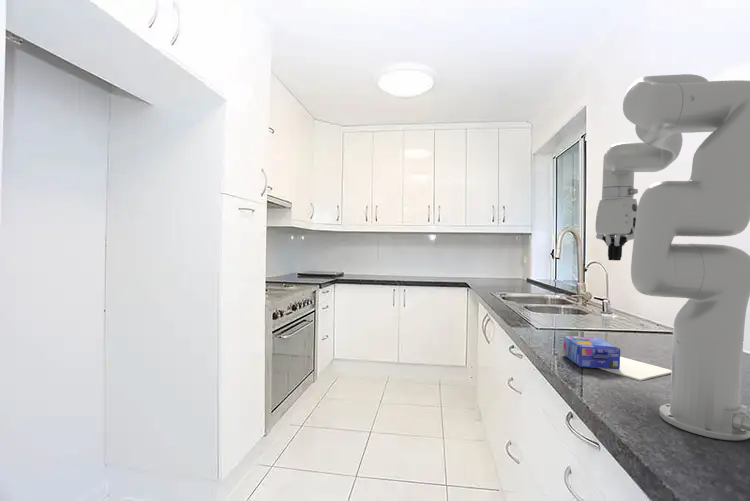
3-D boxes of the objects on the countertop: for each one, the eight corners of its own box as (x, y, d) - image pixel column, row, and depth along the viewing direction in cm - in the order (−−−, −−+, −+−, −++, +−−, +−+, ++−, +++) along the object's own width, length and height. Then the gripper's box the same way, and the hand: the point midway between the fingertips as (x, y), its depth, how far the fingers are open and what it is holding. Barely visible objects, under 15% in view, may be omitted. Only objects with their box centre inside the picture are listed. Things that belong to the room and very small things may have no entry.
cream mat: (674, 372, 101) (674, 371, 101) (639, 381, 94) (640, 379, 94) (611, 355, 115) (611, 354, 115) (577, 361, 108) (577, 360, 108)
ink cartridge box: (600, 336, 112) (626, 351, 98) (599, 355, 113) (625, 374, 98) (563, 334, 113) (583, 349, 99) (562, 354, 114) (582, 371, 99)
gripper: (653, 193, 108) (650, 261, 109) (600, 197, 122) (597, 258, 122) (637, 191, 105) (634, 261, 105) (584, 196, 118) (581, 258, 119)
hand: (614, 260), depth 114 cm, fingers closed
